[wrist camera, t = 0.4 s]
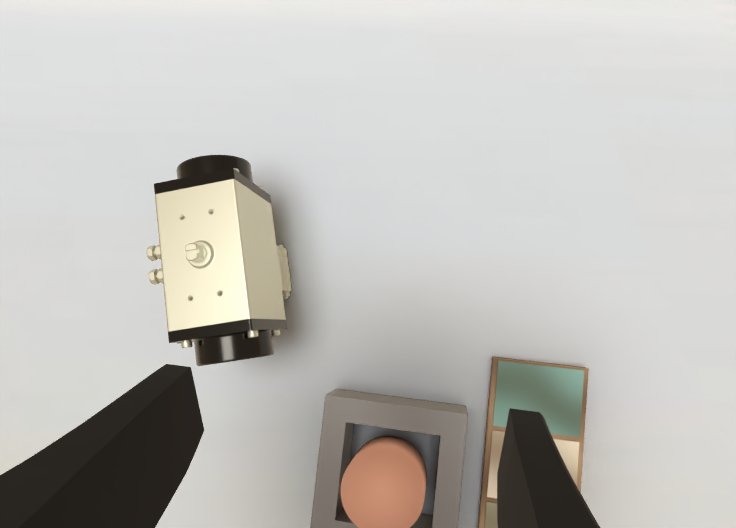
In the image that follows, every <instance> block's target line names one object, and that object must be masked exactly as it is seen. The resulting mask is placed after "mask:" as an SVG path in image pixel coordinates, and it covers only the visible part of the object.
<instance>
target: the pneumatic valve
mask: <svg viewBox="0 0 736 528" xmlns="http://www.w3.org/2000/svg"><path fill="white" fill-rule="evenodd" d="M177 178H178V179H176V180H171V181H166V182H161V183H156V184H154V190H155V200H156V211H157V221H158V231H159V242H160V245H157V246H150V247H148V248H147V256H148V258H149V259H150V260H152V261H154V260H157V259H161V263H162V268H161V269H159V270H157V269H154V270H152V271H150V273H149V279H150V282H151V283H152V284H159V283H160V282H161V283H163V284H164V294H165V305H166V315H167V326H168V336H169V343H176V342H177V343H181V346H182V348H188V347H192V342H194V344H195V354H196V364H197V366H203V365H210V364H217V363H223V362H230V361H237V360H243V359H250V358H256V357H262V356H269V355H273V354H274V352H273V344H272V336H279V335H280V330H285V329H287V325H286V317H285V309H284V302H283V299H288V297H289V296H290V294H289V293H290V292H291V291H292V288H291V280H290V273H289V265H288V257H287V250H286V248H284V247H283V245H276V238H275V231H274V223H273V215H272V207H271V199H270V195H269V194H267V193H266V192H265V191H263V190H262V187H261V186H257V185H255V184H254V183H253V181H252V172H251V165H250V163H249V162H248V161H246V160H245V159H242V158H239V157H235V156H229V155H208V156H200V157H196V158H192V159H189V160H186V161H184V162H182V163H181V164H180V165H179V166H178V167H177Z"/></svg>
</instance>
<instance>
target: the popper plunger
mask: <svg viewBox="0 0 736 528" xmlns="http://www.w3.org/2000/svg"><path fill="white" fill-rule="evenodd" d="M426 483H427V472H426V467H425V464H424V461H423V459H422V457H421V455H420V454H419V452H418V451H417V450H416V449H415V448H414V447H413V446H412V445H411V444H410V443H408V442H407V441H405V440H403V439H400V438H398V437H393V436H382V437H378V438H375V439H372V440H370V441H369V442H367V443H366V444H365V445H364V446H362V447H361V449H360V450H359V451H358V453H357V454H356V455H355V457H354V458H353V460H352V461H351V463H350V464H349V465H348V467H347V469H346V470H345V473H344V475H343V478H342V482H341V499H342V504H343V507H344V509H345V511H346V514H347V515H348V517H349V518H350V520H351V521H352V522H353V523H354V524H355V525H356V526H357V527H358V528H410V527H411V526H412V525H413V524H414V523H415V522H416V521H417V519H418V517H419V516H420V514H421V511H422V508H423V505H424V498H425V490H426Z"/></svg>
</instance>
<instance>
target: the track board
mask: <svg viewBox="0 0 736 528" xmlns="http://www.w3.org/2000/svg"><path fill="white" fill-rule="evenodd" d="M587 383H588V368H584V367H576V366H567V365H559V364H550V363H542V362H533V361H525V360H516V359H508V358H499V357H492V367H491V379H490V391H489V402H488V414H487V426H486V438H485V450H484V462H483V474H482V486H481V497H480V509H479V521H478V528H498V524H497V472H498V467H499V461H500V456H501V451H502V446H503V440H504V435H505V430H506V425H507V419H508V414H509V409H510V408H512V409H519V410H527V411H535V412H540V413H541V414H542V415H543V417H544V418H545V421H546V424H547V426H548V428H549V431H550V433H551V435H552V438H553V440H554V442H555V444H556V446H557V448H558V451H559V453H560V455H561V457H562V459H563V461H564V463H565V465H566V467H567V469H568V471H569V473H570V475H571V477H572V479H573V480H574V482H575V484H576V486H577V488H578V490H579V491H580V489H581V474H582V459H583V444H584V429H585V413H586V398H587Z"/></svg>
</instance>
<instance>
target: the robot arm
mask: <svg viewBox="0 0 736 528" xmlns="http://www.w3.org/2000/svg"><path fill="white" fill-rule="evenodd" d="M203 432H204V427H203V423H202V418H201V413H200V409H199V404H198V399H197V395H196V390H195V385H194V380H193V376H192V371H191V367H185V366H177V365H169V364H166V365H164V366H163V367H161V368H160V369H158V370H157V371H155V372H154V373H153V374H151V375H150V376H148V377H147V378H146V379H144V380H143V381H141V382H140V383H139V384H137V385H136V386H134V387H133V388H132V389H130V390H129V391H128V392H126V393H125V394H123V395H122V396H121V397H119V398H118V399H116V400H115V401H114V402H112V403H111V404H109V405H108V406H107V407H105V408H104V409H102V410H101V411H100V412H98V413H97V414H95V415H94V416H92V417H91V418H90V419H88V420H87V421H85V422H84V423H82V424H81V425H80V426H78V427H77V428H75V429H73V430H72V431H70V432H69V433H67V434H66V435H64V436H63V437H61V438H60V439H58V440H57V441H55V442H54V443H52V444H50V445H49V446H47V447H46V448H44V449H43V450H41V451H40V452H38V453H37V454H35V455H34V456H32V457H30V458H29V459H27V460H25V461H24V462H22V463H21V464H19V465H17V466H15V467H14V468H12V469H10V470H9V471H7V472H5V473H4V474H2V475H0V528H155V527H156V525H157V523H158V521H159V520H160V518H161V516H162V514H163V513H164V511H165V509H166V508H167V506H168V504H169V502H170V501H171V499H172V497H173V495H174V494H175V492H176V490H177V488H178V486H179V485H180V483H181V481H182V479H183V478H184V476H185V474H186V472H187V470H188V468H189V465H190V463H191V461H192V459H193V456H194V454H195V452H196V449H197V447H198V444H199V442H200V439H201V437H202V434H203ZM497 524H498V528H600V527H599V525H598V523H597V522H596V520H595V518H594V516H593V515H592V513H591V511H590V509H589V508H588V506H587V504H586V502H585V500H584V499H583V497H582V495H581V493H580V491H579V490H578V488H577V486H576V484H575V482H574V480H573V479H572V477H571V475H570V473H569V471H568V469H567V467H566V465H565V463H564V461H563V459H562V457H561V455H560V453H559V451H558V448H557V446H556V444H555V442H554V440H553V438H552V435H551V433H550V431H549V428H548V426H547V424H546V421H545V418H544V417H543V415H542V414H541V413H540V412H535V411H527V410H519V409H512V408H510V409H509V414H508V419H507V425H506V430H505V435H504V440H503V446H502V451H501V456H500V461H499V467H498V472H497Z"/></svg>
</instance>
